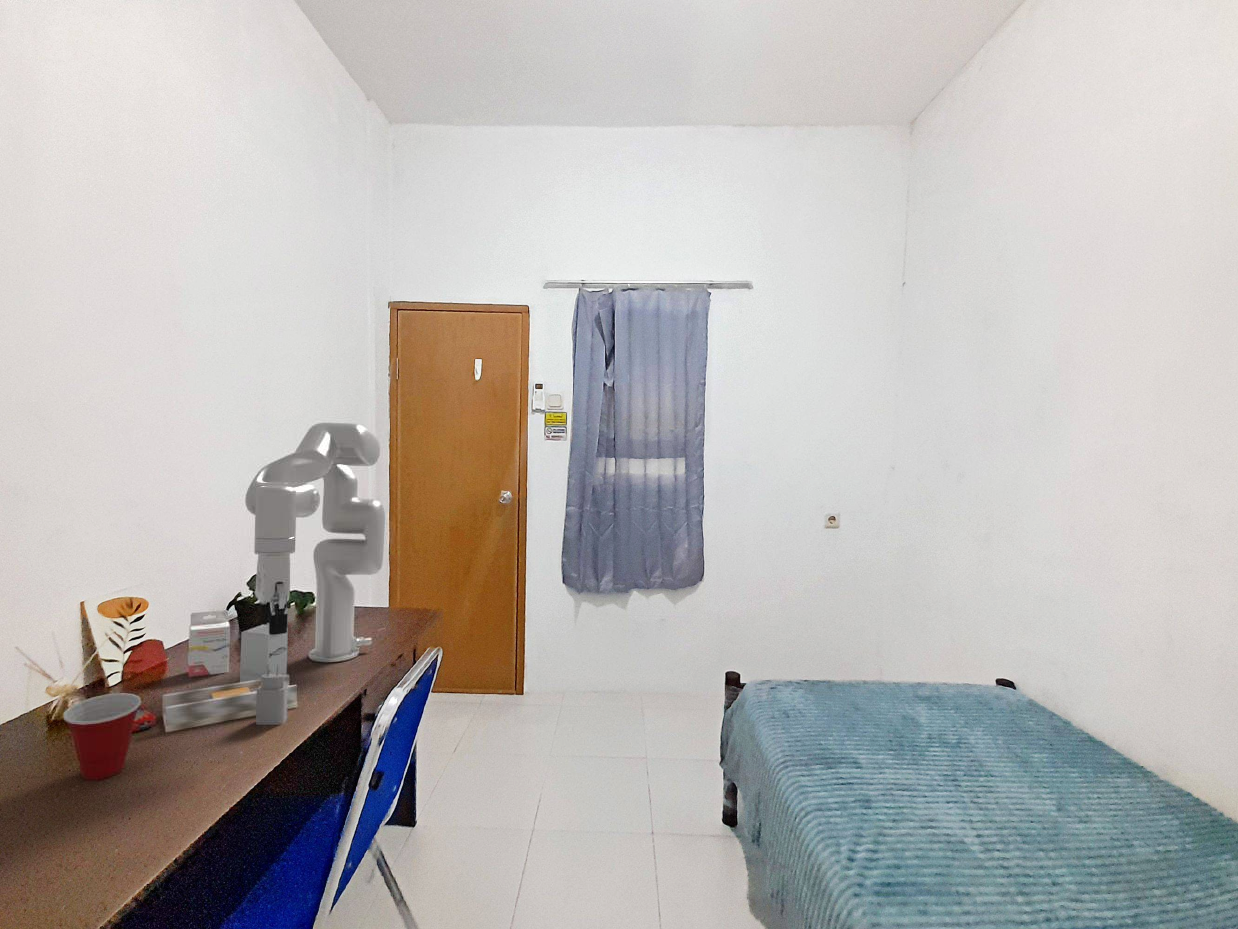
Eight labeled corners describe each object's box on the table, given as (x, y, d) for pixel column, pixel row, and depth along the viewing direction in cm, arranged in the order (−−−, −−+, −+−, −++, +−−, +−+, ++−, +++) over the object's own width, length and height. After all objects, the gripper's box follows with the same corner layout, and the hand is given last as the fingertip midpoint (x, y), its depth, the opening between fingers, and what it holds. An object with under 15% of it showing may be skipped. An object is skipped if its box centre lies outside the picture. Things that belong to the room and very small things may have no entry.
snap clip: (247, 692, 150) (247, 686, 150) (252, 700, 146) (252, 695, 145) (210, 698, 146) (210, 693, 146) (214, 707, 141) (214, 701, 141)
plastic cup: (45, 789, 112) (46, 717, 112) (89, 758, 123) (89, 693, 122) (116, 788, 113) (117, 717, 113) (153, 758, 124) (154, 693, 124)
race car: (160, 727, 137) (160, 708, 137) (130, 737, 133) (130, 717, 132) (126, 712, 144) (126, 693, 144) (96, 721, 139) (96, 701, 139)
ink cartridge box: (188, 678, 164) (189, 617, 163) (188, 671, 168) (189, 612, 167) (229, 672, 168) (230, 613, 168) (228, 666, 173) (229, 609, 172)
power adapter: (261, 718, 143) (262, 661, 142) (288, 718, 143) (289, 662, 143) (254, 724, 140) (255, 666, 139) (282, 724, 140) (283, 667, 140)
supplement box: (266, 687, 160) (267, 634, 159) (238, 684, 161) (240, 631, 161) (287, 677, 167) (288, 626, 166) (261, 674, 168) (262, 623, 168)
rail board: (287, 692, 157) (287, 673, 157) (297, 707, 149) (297, 687, 149) (162, 715, 142) (162, 693, 142) (165, 732, 134) (166, 709, 134)
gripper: (247, 540, 145) (245, 620, 145) (262, 552, 131) (260, 641, 131) (285, 539, 149) (284, 616, 150) (304, 550, 135) (302, 635, 136)
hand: (273, 628), depth 140 cm, fingers open, 9 cm apart
